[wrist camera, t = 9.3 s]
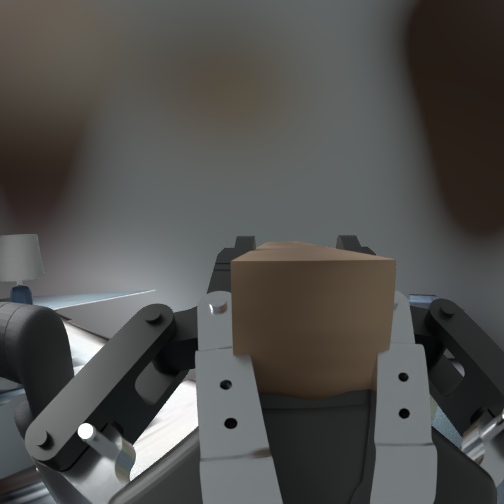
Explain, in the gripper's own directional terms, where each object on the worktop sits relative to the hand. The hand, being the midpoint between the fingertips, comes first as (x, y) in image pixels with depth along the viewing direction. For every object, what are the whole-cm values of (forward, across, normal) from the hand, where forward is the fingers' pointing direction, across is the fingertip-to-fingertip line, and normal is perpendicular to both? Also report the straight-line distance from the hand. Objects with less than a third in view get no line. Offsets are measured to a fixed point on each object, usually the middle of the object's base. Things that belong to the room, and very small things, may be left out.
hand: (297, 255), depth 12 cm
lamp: (+43, -106, -70) cm, 134 cm away
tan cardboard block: (+5, 0, -7) cm, 8 cm away
